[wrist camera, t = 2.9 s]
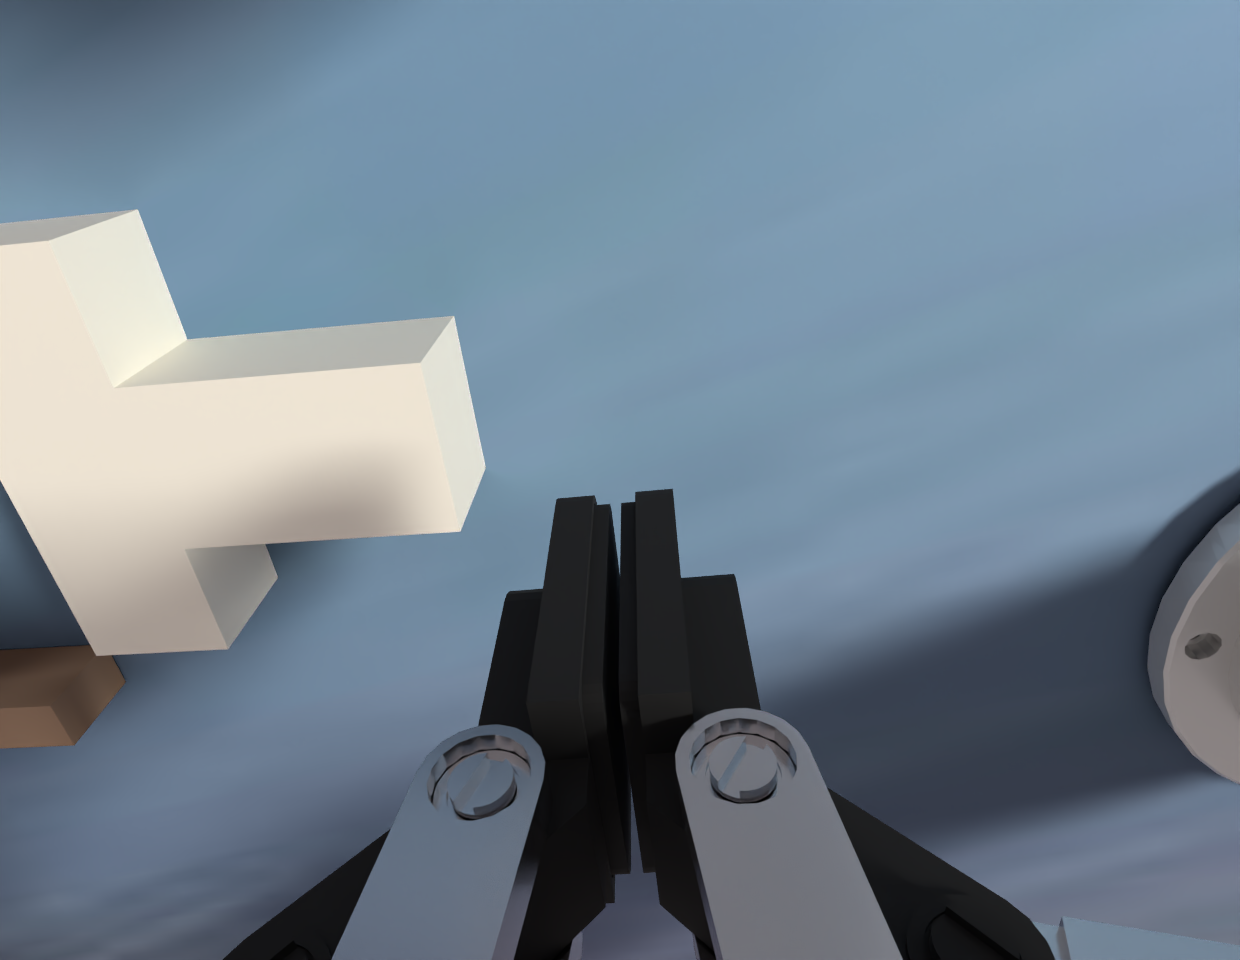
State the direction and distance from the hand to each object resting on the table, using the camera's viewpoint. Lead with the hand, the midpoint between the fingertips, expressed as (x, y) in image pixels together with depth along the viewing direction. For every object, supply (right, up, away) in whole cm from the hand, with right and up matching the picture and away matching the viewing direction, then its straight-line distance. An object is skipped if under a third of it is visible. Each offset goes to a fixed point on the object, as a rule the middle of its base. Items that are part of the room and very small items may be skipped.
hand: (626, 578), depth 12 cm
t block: (-9, +3, +8) cm, 12 cm away
